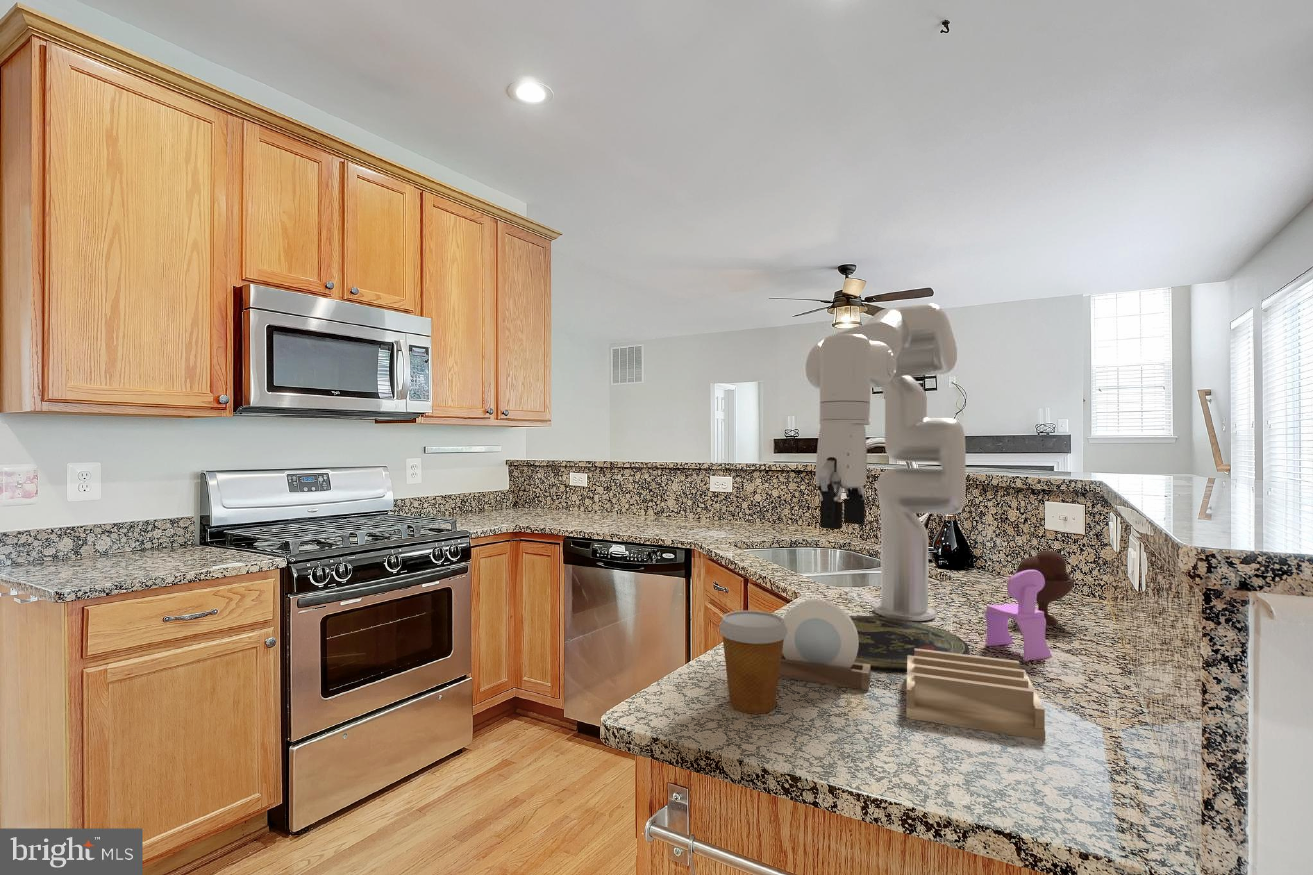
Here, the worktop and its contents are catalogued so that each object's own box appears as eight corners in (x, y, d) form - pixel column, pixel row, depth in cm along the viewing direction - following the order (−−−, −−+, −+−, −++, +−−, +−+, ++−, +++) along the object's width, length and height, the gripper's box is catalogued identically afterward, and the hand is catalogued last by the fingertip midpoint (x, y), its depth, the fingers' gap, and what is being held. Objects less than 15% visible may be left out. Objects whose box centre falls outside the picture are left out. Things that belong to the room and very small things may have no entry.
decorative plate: (1010, 651, 107) (868, 672, 96) (1010, 662, 106) (868, 685, 96) (886, 609, 134) (765, 622, 123) (886, 618, 134) (765, 631, 123)
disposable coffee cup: (800, 704, 87) (800, 618, 88) (760, 726, 81) (761, 633, 81) (745, 685, 94) (745, 606, 94) (704, 704, 87) (705, 618, 88)
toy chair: (1013, 641, 117) (1014, 561, 117) (1056, 656, 109) (1057, 570, 109) (978, 645, 115) (979, 563, 115) (1020, 661, 106) (1020, 573, 106)
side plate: (780, 670, 101) (781, 595, 101) (858, 682, 96) (859, 604, 96) (778, 674, 99) (779, 598, 99) (857, 686, 94) (858, 607, 95)
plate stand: (771, 666, 103) (771, 651, 103) (870, 680, 97) (870, 664, 97) (765, 674, 99) (766, 659, 99) (868, 690, 93) (868, 673, 93)
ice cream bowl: (1060, 615, 135) (1060, 546, 135) (1083, 630, 124) (1083, 555, 124) (1006, 612, 138) (1006, 544, 138) (1024, 626, 127) (1024, 552, 127)
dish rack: (907, 677, 98) (907, 644, 98) (1024, 693, 92) (1024, 658, 92) (906, 717, 83) (906, 678, 84) (1045, 740, 77) (1045, 698, 77)
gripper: (841, 419, 106) (839, 520, 105) (798, 411, 92) (796, 528, 92) (886, 418, 101) (885, 524, 101) (848, 410, 88) (846, 532, 87)
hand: (843, 525), depth 96 cm, fingers open, 9 cm apart
